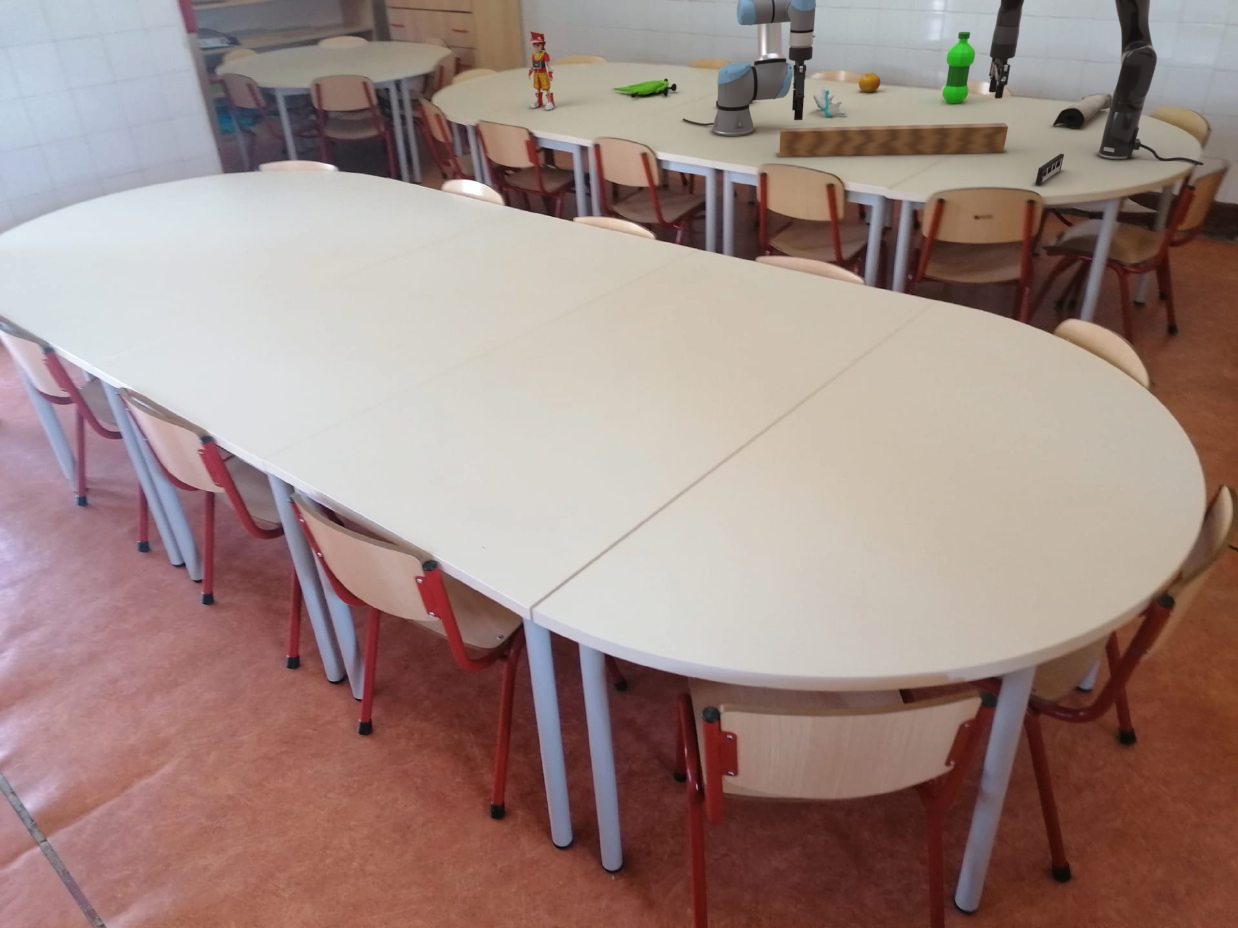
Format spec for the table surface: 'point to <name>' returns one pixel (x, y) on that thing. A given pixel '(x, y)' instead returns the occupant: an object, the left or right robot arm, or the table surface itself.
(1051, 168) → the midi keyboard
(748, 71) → the left robot arm
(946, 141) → the wooden plank
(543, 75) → the toy
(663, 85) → the toy
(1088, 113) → the rolled mat
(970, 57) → the plastic bottle
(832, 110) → the anatomical model
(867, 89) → the fruit
